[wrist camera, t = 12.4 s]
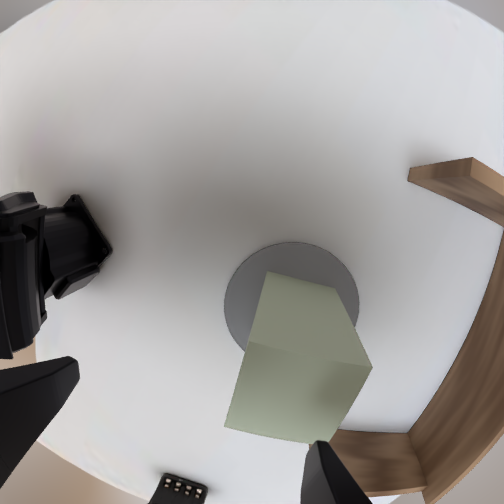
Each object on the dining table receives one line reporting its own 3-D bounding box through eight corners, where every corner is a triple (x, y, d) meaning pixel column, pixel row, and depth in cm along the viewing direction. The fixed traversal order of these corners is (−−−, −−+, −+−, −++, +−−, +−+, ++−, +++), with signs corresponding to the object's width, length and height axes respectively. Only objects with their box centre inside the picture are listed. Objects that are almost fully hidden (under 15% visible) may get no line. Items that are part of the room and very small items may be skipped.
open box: (308, 432, 23) (310, 515, 13) (410, 168, 17) (496, 153, 8) (409, 438, 22) (433, 504, 12) (512, 220, 17) (589, 238, 7)
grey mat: (199, 292, 21) (197, 295, 21) (309, 213, 19) (310, 214, 19) (275, 383, 22) (275, 386, 22) (379, 320, 20) (381, 323, 19)
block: (250, 332, 21) (223, 426, 11) (267, 270, 20) (249, 341, 10) (313, 347, 20) (326, 445, 11) (335, 288, 19) (372, 367, 10)
